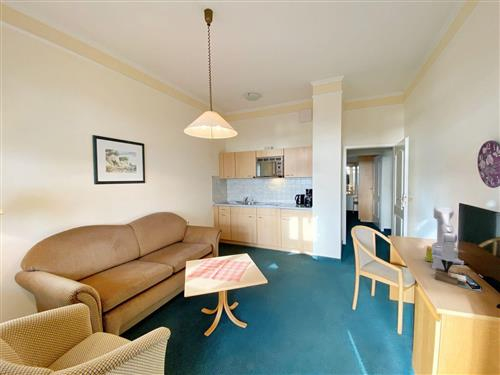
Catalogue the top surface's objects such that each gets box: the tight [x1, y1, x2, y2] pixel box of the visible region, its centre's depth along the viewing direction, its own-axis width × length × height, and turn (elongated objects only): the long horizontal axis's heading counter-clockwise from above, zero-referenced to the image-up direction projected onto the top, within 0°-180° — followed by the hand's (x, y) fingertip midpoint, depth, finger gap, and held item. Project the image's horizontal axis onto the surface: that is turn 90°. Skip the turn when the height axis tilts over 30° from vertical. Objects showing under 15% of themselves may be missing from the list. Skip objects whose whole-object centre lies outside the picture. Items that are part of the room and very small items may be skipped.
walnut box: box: [434, 268, 458, 286], centre depth 133 cm, size 10×10×4 cm
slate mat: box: [457, 280, 483, 294], centre depth 126 cm, size 12×10×1 cm
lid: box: [448, 269, 467, 282], centre depth 130 cm, size 7×8×3 cm
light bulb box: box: [453, 247, 459, 264], centre depth 159 cm, size 11×7×11 cm, turn 113°
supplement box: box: [425, 245, 434, 264], centre depth 160 cm, size 6×6×11 cm
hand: (446, 271), depth 133 cm, fingers closed
